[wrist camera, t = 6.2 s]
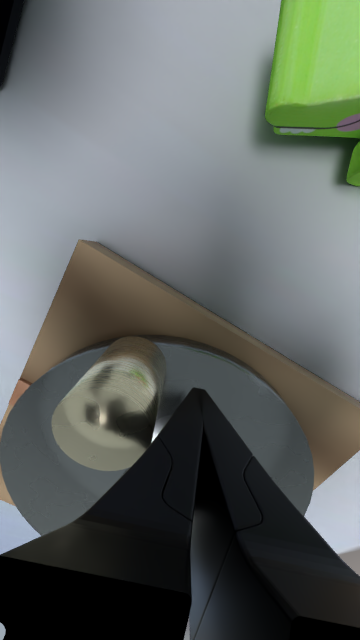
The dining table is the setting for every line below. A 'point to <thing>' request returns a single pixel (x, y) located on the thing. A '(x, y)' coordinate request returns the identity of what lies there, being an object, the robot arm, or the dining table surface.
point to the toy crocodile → (317, 73)
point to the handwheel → (135, 422)
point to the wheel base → (185, 322)
